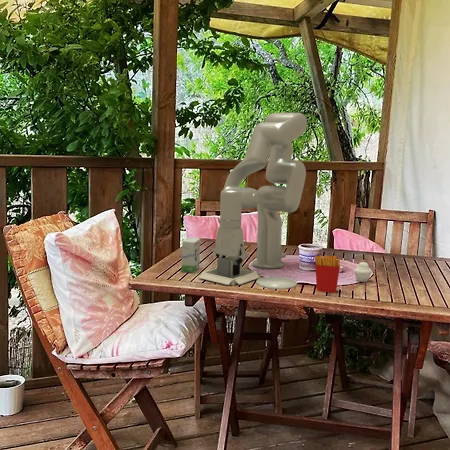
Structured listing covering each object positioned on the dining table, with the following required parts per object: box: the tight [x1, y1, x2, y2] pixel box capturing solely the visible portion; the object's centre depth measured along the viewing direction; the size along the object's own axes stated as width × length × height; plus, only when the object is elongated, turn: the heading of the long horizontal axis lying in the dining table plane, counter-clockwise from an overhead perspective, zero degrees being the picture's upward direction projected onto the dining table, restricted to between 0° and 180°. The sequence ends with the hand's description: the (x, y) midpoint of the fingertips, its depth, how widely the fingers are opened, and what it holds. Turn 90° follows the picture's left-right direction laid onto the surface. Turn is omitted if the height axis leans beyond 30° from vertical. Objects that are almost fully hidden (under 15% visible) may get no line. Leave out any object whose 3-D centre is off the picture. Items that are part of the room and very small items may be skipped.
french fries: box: [314, 254, 341, 293], centre depth 177 cm, size 8×4×12 cm, turn 73°
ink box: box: [181, 236, 201, 273], centre depth 202 cm, size 9×5×12 cm, turn 168°
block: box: [216, 256, 243, 279], centre depth 192 cm, size 8×5×7 cm, turn 141°
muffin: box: [353, 261, 373, 283], centre depth 191 cm, size 6×6×7 cm
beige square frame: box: [197, 267, 261, 286], centre depth 192 cm, size 18×18×2 cm
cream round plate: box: [256, 276, 298, 290], centre depth 186 cm, size 14×14×1 cm
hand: (229, 273), depth 192 cm, fingers open, 5 cm apart
